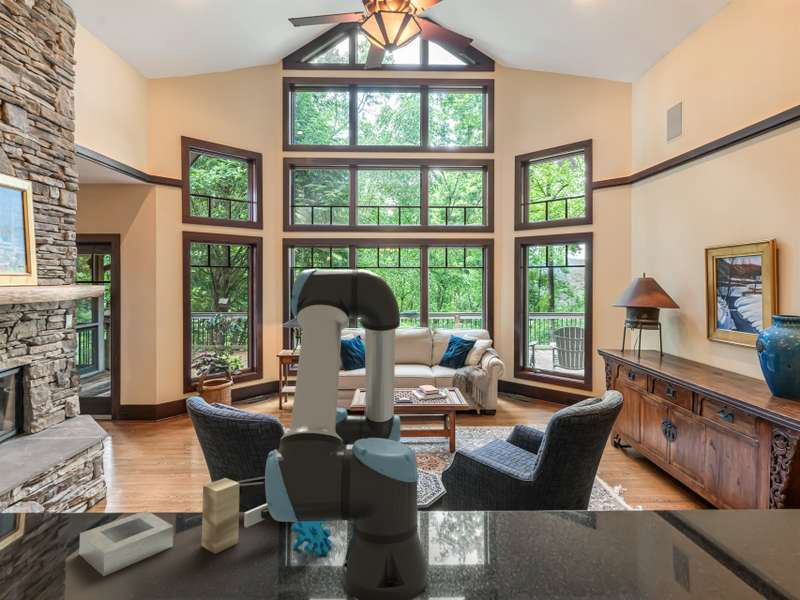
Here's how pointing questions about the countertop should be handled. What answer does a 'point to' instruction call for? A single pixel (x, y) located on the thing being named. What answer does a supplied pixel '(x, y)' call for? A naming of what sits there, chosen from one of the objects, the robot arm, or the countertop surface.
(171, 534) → the grey square frame block
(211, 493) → the upright pine post
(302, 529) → the blue lumpy piece
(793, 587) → the countertop surface
